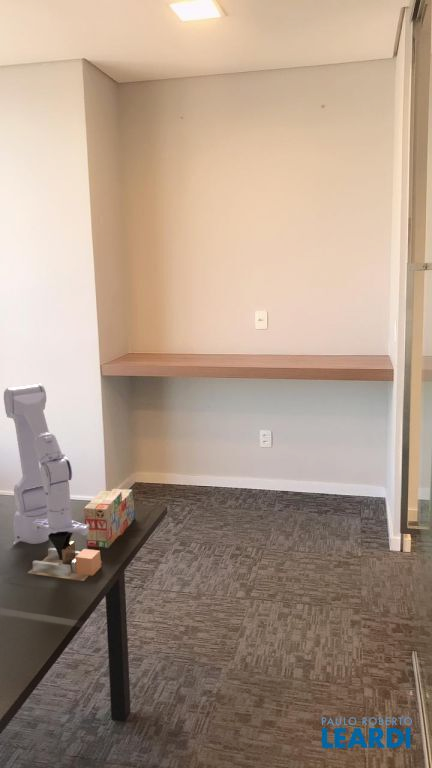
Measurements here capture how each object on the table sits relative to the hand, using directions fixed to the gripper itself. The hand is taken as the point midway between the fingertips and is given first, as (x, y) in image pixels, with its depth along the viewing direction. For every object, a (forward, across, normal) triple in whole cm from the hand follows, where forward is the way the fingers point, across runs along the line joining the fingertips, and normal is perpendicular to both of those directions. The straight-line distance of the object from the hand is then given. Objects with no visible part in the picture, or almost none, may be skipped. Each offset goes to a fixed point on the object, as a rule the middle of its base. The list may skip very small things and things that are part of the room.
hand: (63, 557), depth 158 cm
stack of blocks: (+4, +2, +22) cm, 23 cm away
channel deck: (+3, 0, 0) cm, 3 cm away
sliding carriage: (+2, +3, 0) cm, 4 cm away
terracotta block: (+2, +7, 0) cm, 7 cm away
